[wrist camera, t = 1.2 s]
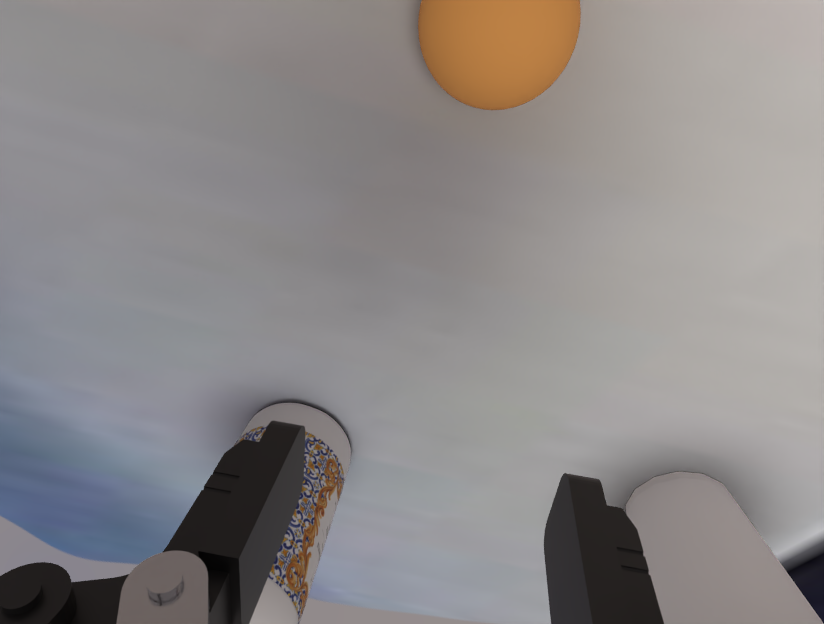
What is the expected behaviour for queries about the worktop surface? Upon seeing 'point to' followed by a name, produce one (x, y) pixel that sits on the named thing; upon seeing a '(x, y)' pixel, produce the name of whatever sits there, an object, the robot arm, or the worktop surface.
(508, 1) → the ball
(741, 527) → the foam cup
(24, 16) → the worktop surface
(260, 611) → the bath foam
